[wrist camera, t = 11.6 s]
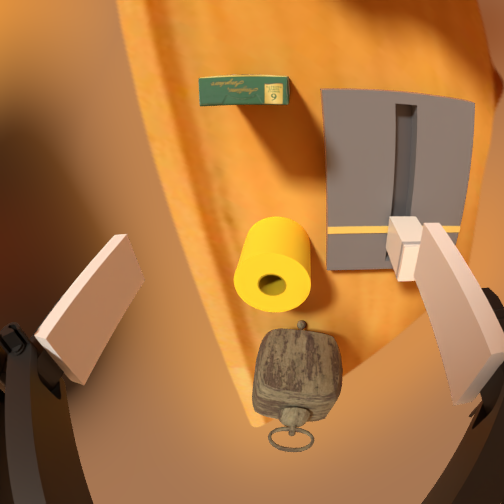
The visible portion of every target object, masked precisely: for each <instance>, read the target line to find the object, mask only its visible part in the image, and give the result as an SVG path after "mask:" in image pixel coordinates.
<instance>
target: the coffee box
mask: <svg viewBox="0 0 504 504" xmlns="http://www.w3.org/2000/svg"><path fill="white" fill-rule="evenodd" d="M289 96H290V88H289V77H287V76H276V75H253V74H250V75H249V74H242V75H222V76H211V77H202V78H199V101H200V106H217V105H288V104H289Z"/></svg>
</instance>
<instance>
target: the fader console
mask: <svg viewBox="0 0 504 504" xmlns="http://www.w3.org/2000/svg"><path fill="white" fill-rule="evenodd" d="M320 90H321V102H322V115H323V129H324V147H325V171H326V265H327V270H361V269H393V266H392V263H391V261H390V258H389V255H388V252H387V250H386V242H387V234H388V225H389V216H416V217H417V219H418V220H419V222H420V224H421V225H422V227H423V225H424V223H440V224H441V226H442V227H443V228H444V230H445V231H446V233H447V234H448V236H449V237H450V239H451V240H452V242H453V243H454V245H456V241H457V237H458V233H459V231H460V224H461V219H462V215H463V210H464V204H465V199H466V193H467V187H468V180H469V173H470V166H471V157H472V147H473V134H474V114H475V103H474V102H470V101H467V100H462V99H456V98H450V97H444V96H437V95H430V94H422V93H413V92H403V91H391V90H375V89H320Z"/></svg>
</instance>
